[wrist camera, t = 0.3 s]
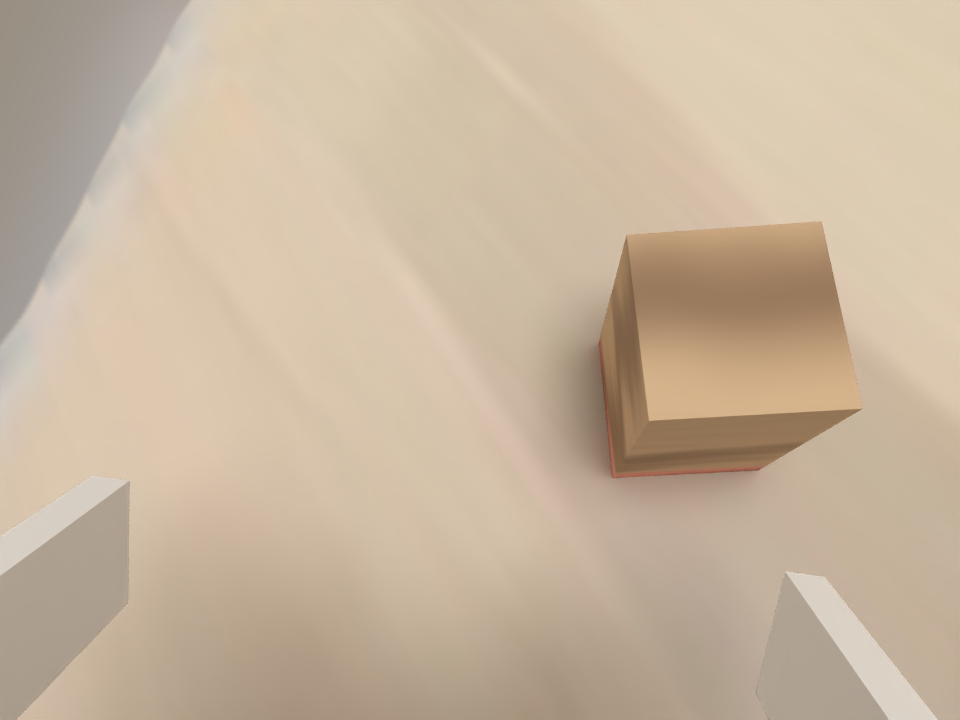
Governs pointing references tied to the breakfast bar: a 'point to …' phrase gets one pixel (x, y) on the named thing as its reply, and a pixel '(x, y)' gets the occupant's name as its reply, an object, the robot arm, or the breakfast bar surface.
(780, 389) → the oak block
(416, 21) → the breakfast bar surface
